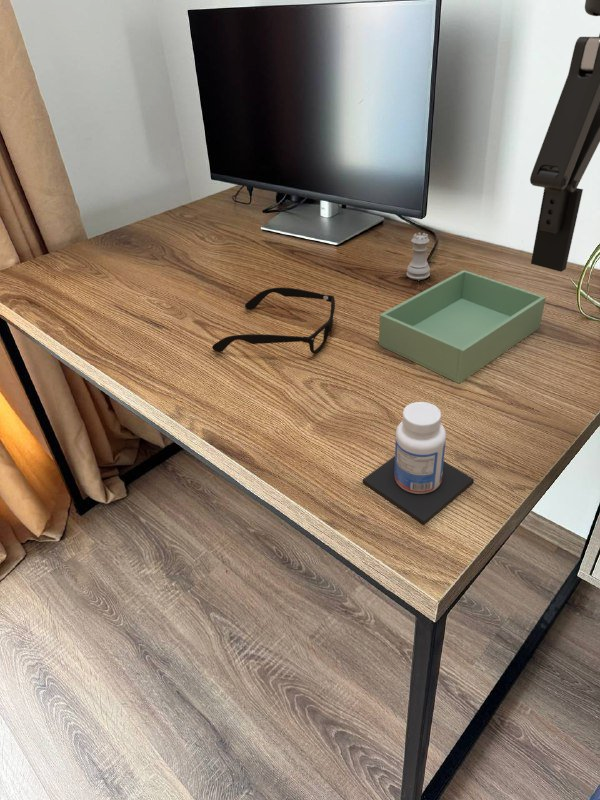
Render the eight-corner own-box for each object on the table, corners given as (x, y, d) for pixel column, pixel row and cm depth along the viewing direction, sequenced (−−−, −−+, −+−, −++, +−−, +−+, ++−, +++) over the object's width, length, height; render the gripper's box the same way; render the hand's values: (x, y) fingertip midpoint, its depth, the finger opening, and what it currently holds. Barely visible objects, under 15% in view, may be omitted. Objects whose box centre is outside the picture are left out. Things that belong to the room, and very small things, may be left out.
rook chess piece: (406, 270, 113) (408, 230, 109) (429, 270, 113) (432, 230, 108) (406, 281, 110) (408, 240, 105) (430, 281, 109) (433, 239, 104)
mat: (473, 482, 67) (474, 479, 67) (423, 525, 63) (424, 521, 62) (412, 446, 73) (412, 442, 73) (362, 483, 68) (362, 479, 68)
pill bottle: (412, 456, 71) (417, 390, 65) (450, 477, 67) (459, 410, 62) (384, 480, 68) (386, 413, 62) (422, 503, 64) (428, 435, 59)
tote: (539, 328, 94) (546, 296, 90) (459, 383, 83) (463, 350, 80) (460, 298, 103) (463, 269, 100) (378, 345, 92) (379, 314, 89)
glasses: (316, 371, 89) (317, 343, 86) (209, 354, 93) (206, 326, 90) (342, 318, 101) (343, 292, 98) (247, 305, 106) (245, 280, 103)
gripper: (667, -56, 49) (605, 198, 62) (508, -44, 36) (471, 276, 49) (772, -65, 45) (683, 212, 57) (634, -54, 31) (557, 303, 44)
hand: (585, 242), depth 53 cm, fingers open, 13 cm apart
